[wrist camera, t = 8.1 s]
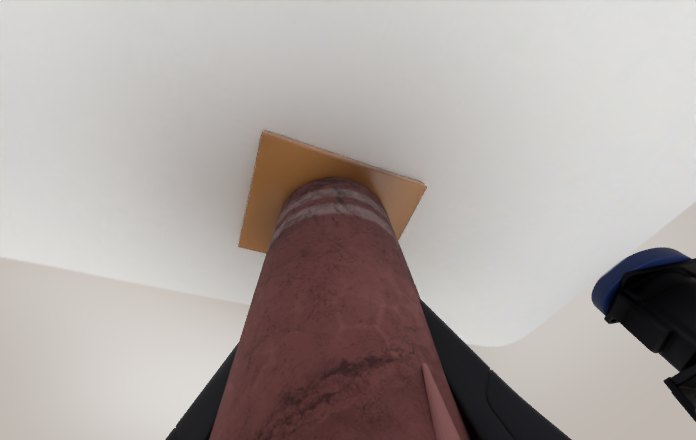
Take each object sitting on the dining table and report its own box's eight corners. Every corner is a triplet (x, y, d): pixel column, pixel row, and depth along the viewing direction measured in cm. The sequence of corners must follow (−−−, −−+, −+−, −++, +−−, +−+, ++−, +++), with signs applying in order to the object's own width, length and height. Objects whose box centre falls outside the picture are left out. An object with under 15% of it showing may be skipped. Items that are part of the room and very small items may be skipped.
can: (408, 194, 15) (714, 710, 3) (356, 276, 18) (418, 720, 6) (304, 149, 14) (130, 850, 2) (265, 246, 16) (91, 776, 4)
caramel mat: (424, 182, 16) (427, 187, 15) (376, 273, 19) (377, 279, 18) (264, 129, 14) (261, 132, 13) (240, 241, 17) (237, 247, 16)
